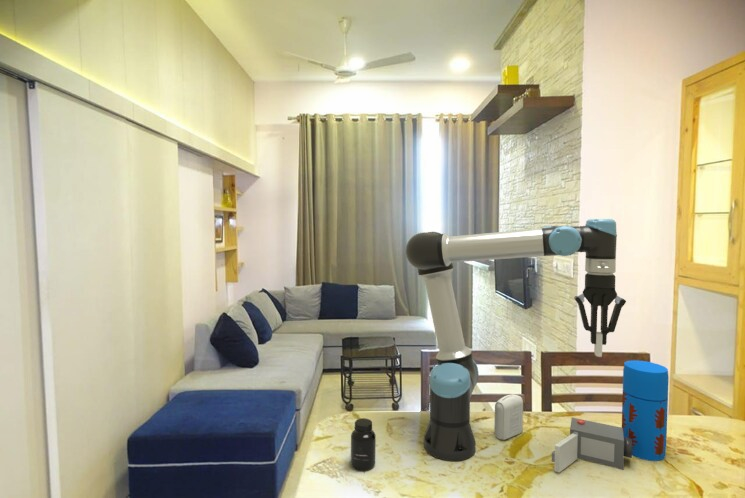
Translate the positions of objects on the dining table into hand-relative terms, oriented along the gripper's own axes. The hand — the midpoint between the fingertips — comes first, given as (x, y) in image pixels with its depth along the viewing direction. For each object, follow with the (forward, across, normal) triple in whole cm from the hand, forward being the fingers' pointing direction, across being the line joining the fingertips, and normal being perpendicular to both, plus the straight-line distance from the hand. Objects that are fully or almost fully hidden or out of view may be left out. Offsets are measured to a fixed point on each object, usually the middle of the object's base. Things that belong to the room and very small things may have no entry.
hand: (598, 355), depth 115 cm
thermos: (+29, +13, +5) cm, 32 cm away
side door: (+28, -9, -10) cm, 31 cm away
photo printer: (+29, -24, +2) cm, 37 cm away
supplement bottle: (+29, -62, -28) cm, 73 cm away
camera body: (+28, 0, -2) cm, 29 cm away
